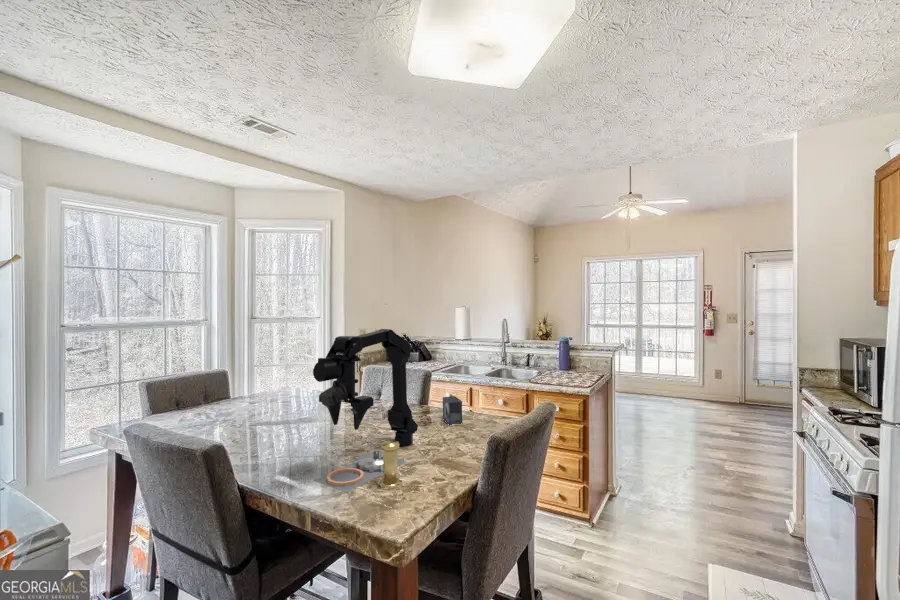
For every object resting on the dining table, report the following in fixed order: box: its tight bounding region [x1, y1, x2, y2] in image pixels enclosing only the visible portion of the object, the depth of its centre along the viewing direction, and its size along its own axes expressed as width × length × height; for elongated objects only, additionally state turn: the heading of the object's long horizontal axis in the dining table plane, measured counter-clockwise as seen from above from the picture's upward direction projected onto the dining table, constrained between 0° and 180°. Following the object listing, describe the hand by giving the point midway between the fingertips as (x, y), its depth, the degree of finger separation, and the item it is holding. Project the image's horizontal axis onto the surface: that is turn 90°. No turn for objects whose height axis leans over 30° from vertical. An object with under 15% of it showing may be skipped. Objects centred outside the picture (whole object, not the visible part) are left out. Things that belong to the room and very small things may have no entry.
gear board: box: [313, 458, 407, 493], centre depth 128 cm, size 26×14×2 cm, turn 147°
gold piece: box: [377, 440, 403, 489], centre depth 119 cm, size 7×7×13 cm
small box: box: [442, 395, 463, 426], centre depth 185 cm, size 11×6×10 cm, turn 17°
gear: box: [354, 450, 383, 473], centre depth 133 cm, size 13×13×4 cm
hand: (345, 427), depth 129 cm, fingers open, 9 cm apart
